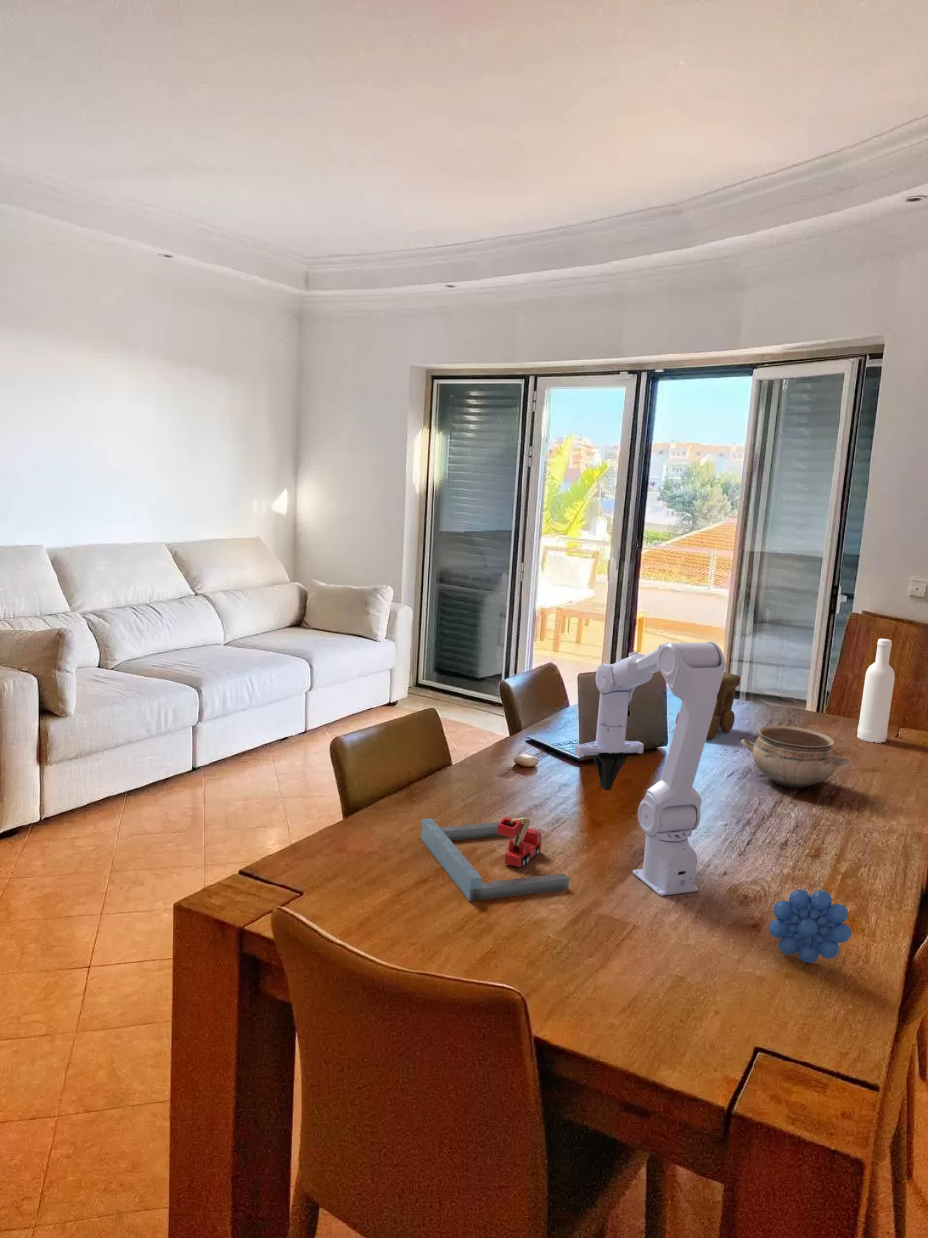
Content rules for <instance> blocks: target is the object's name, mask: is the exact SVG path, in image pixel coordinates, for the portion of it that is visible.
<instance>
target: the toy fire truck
mask: <svg viewBox="0 0 928 1238" xmlns="http://www.w3.org/2000/svg"><path fill="white" fill-rule="evenodd" d="M499 822H500V823H499V824H498V828H497V834H501V835H503V836H504V837H508V838H510V840H509V841H508V851H507V852H505V854H504V856H505V857H504V864H506V865H509V866H513V867H516V868H521V867H524V866H525V865H526V864H528V863H529V862H530V860H531V859H532V858H533V857H534V856H537V855H539V853H540V852H541V849H542V832H541V831H539V830H537V829H534V828H529V826H530V824H531V820H530V819H529V818H528V817H524V816H521V817H519V818H510V817H508V816H504V817H503V818H502V819H501V820H500V821H499Z"/></svg>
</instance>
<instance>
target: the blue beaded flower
mask: <svg viewBox="0 0 928 1238" xmlns="http://www.w3.org/2000/svg"><path fill="white" fill-rule="evenodd" d="M832 902H833V898H832V896H831V894H830V892H829V891H826V890H822V889H820V890H816V891H814V892H813V893H812V894H811V895H810V893H809V892H808V891H807V890H805V889H802V888H799V889H794V890H793V891H792V892H791V893H790V894H789V899H788V900H785V899H783V900H780V901H777V902H776V903H775V904H773V910H772V913H773V915H774V916H775V918H776V919H772V921H771V922H770V923H769V926H768V931H769V933H770V935H771V936H772V937H774V938H777V939H779V942H778V949H779V951H780V952H781V953H782V954H784V955H787V956H791V955H796V953H797V956H798V959H799V960H800V961H801V962H803V963H804V964H811V963H814V962H816V961H817V960H818V958H819V956H821V957H822V958H824V959H827V960H828V959H829V960H830V959H834V958H836V957H837V956H838V955H839V953H840V948H841V947H840V945H839V944H843V943H847V942H848V941H849V940H850V939H851V936H852V930H851V928H850V926H849V925H848V924H846V923H845V922H846V921H847V920H848V918H849V911H848V908H847V907H846V906H845V905H843V904H841V903H834V904H832Z"/></svg>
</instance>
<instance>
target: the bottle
mask: <svg viewBox="0 0 928 1238" xmlns="http://www.w3.org/2000/svg"><path fill="white" fill-rule="evenodd" d="M892 642H893V641H892V640H891V639H887V638H878V640H877V643H876V644H877V645H876V646H877V648H876V654H875V661H874V662H873V663H872V664H871V665H869V666H868V668H867V669H866V672H865V677H864V685H863V691H862V697H861V706H860V713H859V721H858V725H857V734H856V735H857V739H859V740H861V741H865V742H867V741H868V743H873V742H875V743H874V744H883V743H882V742H884V743H885V742H886V741H887V736H888V727H889V722H890V721H889V719H890V712H891V705H892V700H893V693H894V686H895V680H896V677H895V671H894V668H893V667H892V666H891V665H890V664H889V663H890V657H891V650H892V646H893V644H892Z"/></svg>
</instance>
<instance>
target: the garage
mask: <svg viewBox="0 0 928 1238" xmlns="http://www.w3.org/2000/svg"><path fill="white" fill-rule="evenodd" d="M500 822H501V821H498V822H497V821H496V822H487V823H485V822H484V823H474V824H462V825H452V826H442V827H441V826H439V825H438V823H437V822H435V820H434V819H433V818H432V817H431V818H422V819H421V835H420V839H421V841H422V843H424V845H425V846H426V847H427V849H429V851H430V852H431V854H432V856H434V858H435V859H436V860H437V861H438V863H439V864H440V865H441V867H442V868H443V869H444V871H445V872H446V873H447V875H449V877H450V878H451V880H452V881H453V882H454V884H455V885H456V886H457V887H458V888H459V890H460V891H461V892H462V894H463V895H464V896H465V897H466V899H467V900H468V901H469V902H474V901H480V900H481V901H483V900H491V899H499V898H506V897H513V896H515V897H516V896H523V895H530V894H537V893H538V894H539V893H547V892H557V891H565V890H569V885H570V884H569V883H570V877H569V876H568V875H566V874H565V873H555V874H554V873H553V874H546V875H537V876H530V877H529V876H528V877H520V878H512V879H510V878H509V879H502V880H493V881H485V882H482V880H483V879H482V878H483V877H482V876H481V874H479V872H478V871H477V870H476V869H475V867H474V866H473V865H472V864H471V862H469V860H468V859H467V858H466V857H465V856H464V854H462V852H461V851H460V849H458V847H457V846H456V845H455V844H454V842H453V841H461V840H469V839H470V840H471V839H479V838H480V839H481V838H491V837H502V836H504V835H501V834H497V828H498V824H499V823H500Z"/></svg>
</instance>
